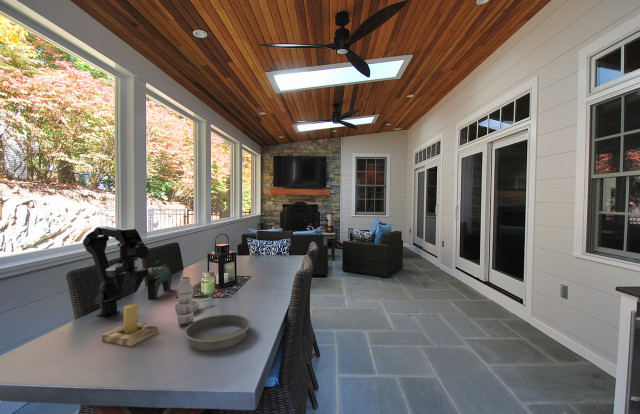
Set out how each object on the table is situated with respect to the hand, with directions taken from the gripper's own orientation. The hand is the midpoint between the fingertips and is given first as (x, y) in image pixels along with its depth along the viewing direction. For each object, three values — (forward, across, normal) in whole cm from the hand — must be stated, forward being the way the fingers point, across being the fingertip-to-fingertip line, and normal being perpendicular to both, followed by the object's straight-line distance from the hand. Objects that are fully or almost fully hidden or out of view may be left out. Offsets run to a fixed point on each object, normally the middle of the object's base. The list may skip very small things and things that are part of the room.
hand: (127, 290), depth 126 cm
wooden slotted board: (+13, +16, -12) cm, 24 cm away
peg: (+13, +16, -12) cm, 24 cm away
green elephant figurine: (+13, -15, +32) cm, 38 cm away
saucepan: (+13, +20, +19) cm, 31 cm away
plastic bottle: (+13, +28, +4) cm, 31 cm away
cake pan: (+14, +49, -2) cm, 51 cm away
